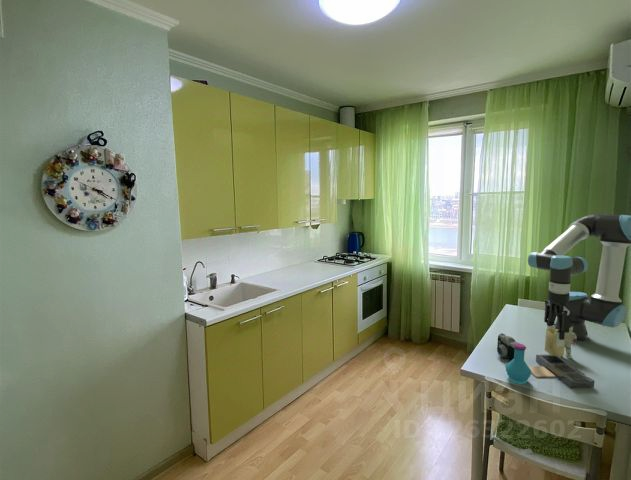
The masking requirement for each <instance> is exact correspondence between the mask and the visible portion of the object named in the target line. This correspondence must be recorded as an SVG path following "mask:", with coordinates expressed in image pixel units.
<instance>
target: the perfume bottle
mask: <svg viewBox="0 0 631 480" xmlns="http://www.w3.org/2000/svg"><path fill="white" fill-rule="evenodd" d="M513 346H514V349H515V351H514V359H513V360H511V361H510V360H509V362H508V363H507V364H505V371H506V373H507V374H506V375H507V376H508V377H507V378H508V380H509V381H510V382H512V383H514V384H518V385H519V384H520V385H525V384H527V383H528V382H527V381H528V380H529V378H530V376H532V374H531V370H530V368H529V367H530V366H529V365H528V363H526V361H525V352H526V349H527V347H526V345H525V344H523V343H520V342H517V343H516V344H514V345H513Z"/></svg>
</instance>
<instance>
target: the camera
mask: <svg viewBox="0 0 631 480" xmlns="http://www.w3.org/2000/svg"><path fill="white" fill-rule="evenodd" d="M516 343H518V342H517V341H516V340H515V338H513V337H512V336H509V335H506V334H504V333H501V332H500V333H498V336H497V344H496V345H497V347H496V351H497V354H498V356H501V357H502V358H504V359H505V358H506V359H507V360H508V361H509V362H510V361H511V360H513V359H514V351H515V349H514V346H513V345H514V344H516Z"/></svg>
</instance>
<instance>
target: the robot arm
mask: <svg viewBox="0 0 631 480" xmlns="http://www.w3.org/2000/svg"><path fill="white" fill-rule="evenodd" d="M591 237H593V238H599V242H600V243H601V245H602V250H601V251H602V252H601V257H600V261H599V262H600V263H599V269H598V275H597V281H596V289H595V293H593V294H591V296H590V297H589V296H588V293H585V292H581V291H571V282H572V281H571V280H572V277H573V276H577V275H581V274H583V273H585V272H586V271H587V270H588V269H589V264H588V261H587V260H586V259H585V258H584V257H582V256H581V257H580V256H570V255H565V254H567V253H568V252H569V251H570V250H572V248H573V247H575V246H576V245H577V244H579V242H581V241H583V240H586V239H587V238H591ZM630 246H631V215H627V214H609V213H608V214H607V213H592V214H587V215H585V216H582V217H580V218H578V219H576V220H574V221H573V222H572V223H570V224H569V225H568V227H567V230H565V231H564V232H563V233H562V234H560V235H559V236H558V237H557V238H556V239H554V240H553V241H552V242H551V243H550V244H549V245H547V246H546V247H544V249H543V250H541V251H540V252H537V251H533V252H531V253H529V255H528V257H527V263H528V266H529V267H530V268H533V269H538V270H543V271H549V277H548V278H549V280H548V281H549V282H548V293H547V299H548V300H545V301H544V304H545V305H544V306H545V307H544V318H543V319H544V321H543V322H544V323H546V326H547V328H546V329H558V331H557V335H556V346H563V342H564V336H565V333H569V328H571V327H573V331H572V332H573V333H575V334H576V337H577V339H576V340H577V341H576V342H581V341H583V342H584V341H586V340H588V336H589V334H588V330H587V326H586V322H590V323H594V324H597V325H599V326H600V325H601V326H602V327H606V328H611V329H613V328H617V327H619V326H620V325H621V324H622V323H623V321H624V319H625V317H626V314H627V307H626V305H622V302H623V301H622V299H621V298H620V297H619V295H620V289H621V282H622V275H623V271H624V265H625V258H626V252H627V248H628V247H630Z"/></svg>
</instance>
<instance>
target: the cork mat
mask: <svg viewBox="0 0 631 480" xmlns="http://www.w3.org/2000/svg"><path fill="white" fill-rule="evenodd" d="M528 367H529V368H530V370H531V375H532V376H534V377H535V378H537V379H539V378H540V379H541V378H548V379H550V378H553V379H554V378H557V377H556V376H555V375H554V374H552V373H551V372H550V371H549V370H547V369H546V368H545V367H544V366H542V365H539V366H528Z"/></svg>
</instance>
